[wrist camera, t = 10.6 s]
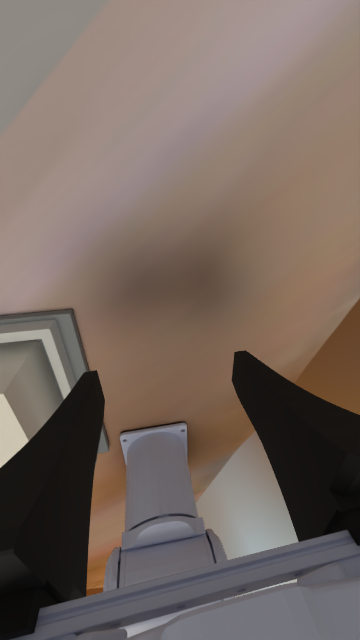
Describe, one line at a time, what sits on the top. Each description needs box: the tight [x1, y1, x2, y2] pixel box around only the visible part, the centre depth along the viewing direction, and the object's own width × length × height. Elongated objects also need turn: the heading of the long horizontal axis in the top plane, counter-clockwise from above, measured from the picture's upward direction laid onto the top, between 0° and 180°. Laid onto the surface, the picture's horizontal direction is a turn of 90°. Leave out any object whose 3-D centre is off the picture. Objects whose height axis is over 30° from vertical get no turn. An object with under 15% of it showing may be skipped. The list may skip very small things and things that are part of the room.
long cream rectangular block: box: [0, 340, 62, 468], centre depth 20 cm, size 14×3×6 cm, turn 2°
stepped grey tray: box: [0, 309, 109, 464], centre depth 22 cm, size 18×9×2 cm, turn 1°
